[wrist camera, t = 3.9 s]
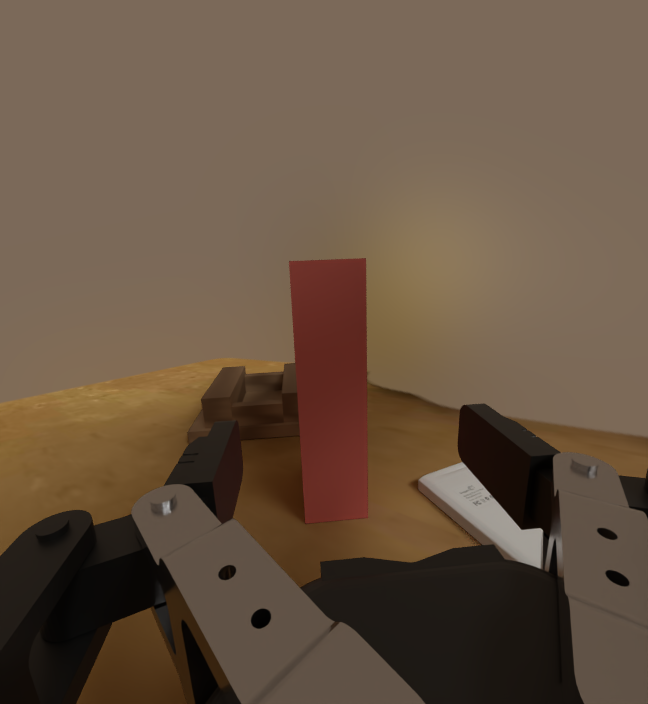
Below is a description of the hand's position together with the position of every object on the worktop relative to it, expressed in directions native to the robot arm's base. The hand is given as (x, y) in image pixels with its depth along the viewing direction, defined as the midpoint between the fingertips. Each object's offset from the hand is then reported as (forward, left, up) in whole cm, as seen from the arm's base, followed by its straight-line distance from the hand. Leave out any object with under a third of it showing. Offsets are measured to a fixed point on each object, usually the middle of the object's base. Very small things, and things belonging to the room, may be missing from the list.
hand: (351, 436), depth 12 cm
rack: (+6, -24, -10) cm, 27 cm away
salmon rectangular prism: (0, -10, -10) cm, 14 cm away
